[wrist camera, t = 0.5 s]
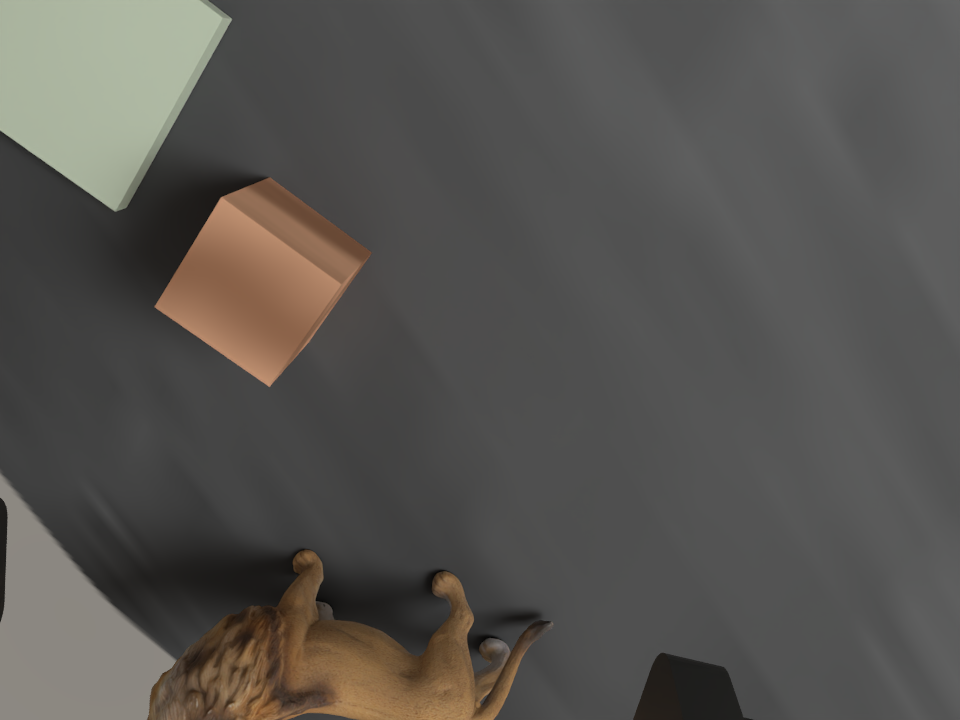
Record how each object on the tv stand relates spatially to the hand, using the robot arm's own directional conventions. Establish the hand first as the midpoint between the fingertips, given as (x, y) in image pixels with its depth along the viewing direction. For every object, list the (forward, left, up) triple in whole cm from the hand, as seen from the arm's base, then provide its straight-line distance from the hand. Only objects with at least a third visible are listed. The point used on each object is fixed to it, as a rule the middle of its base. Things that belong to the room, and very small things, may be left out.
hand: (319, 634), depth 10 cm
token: (+5, -5, -21) cm, 22 cm away
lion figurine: (+16, +6, -21) cm, 27 cm away
